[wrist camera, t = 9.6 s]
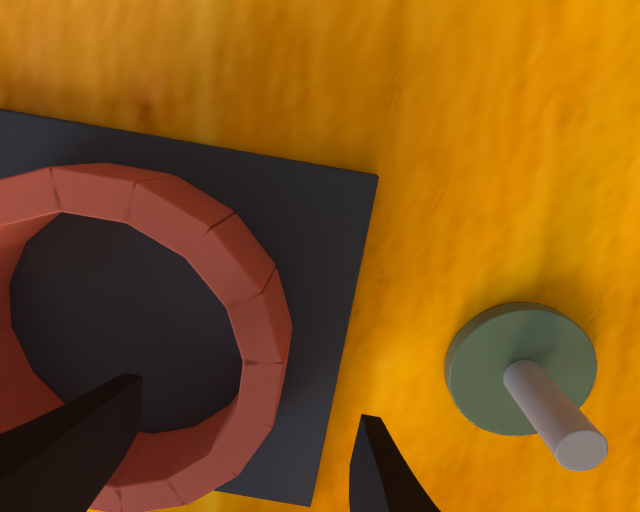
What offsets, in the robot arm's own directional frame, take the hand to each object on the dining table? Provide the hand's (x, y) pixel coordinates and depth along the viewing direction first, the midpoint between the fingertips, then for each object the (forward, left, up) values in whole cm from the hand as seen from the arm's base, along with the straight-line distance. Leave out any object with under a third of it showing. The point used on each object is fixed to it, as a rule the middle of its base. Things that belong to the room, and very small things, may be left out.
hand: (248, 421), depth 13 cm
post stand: (+1, -11, -5) cm, 12 cm away
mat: (0, +5, -5) cm, 7 cm away
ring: (0, +6, -4) cm, 7 cm away
